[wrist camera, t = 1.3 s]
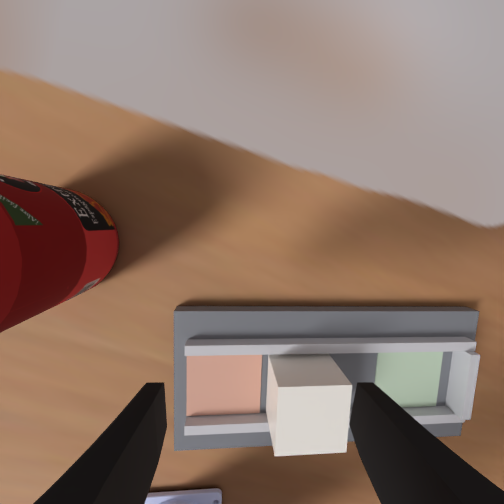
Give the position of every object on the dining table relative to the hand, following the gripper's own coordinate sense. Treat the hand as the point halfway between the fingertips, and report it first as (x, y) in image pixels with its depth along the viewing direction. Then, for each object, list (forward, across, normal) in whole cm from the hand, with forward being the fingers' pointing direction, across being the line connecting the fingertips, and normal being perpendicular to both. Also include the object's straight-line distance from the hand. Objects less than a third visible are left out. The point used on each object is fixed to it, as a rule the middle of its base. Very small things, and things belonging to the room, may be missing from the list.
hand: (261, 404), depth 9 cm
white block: (+9, -4, +8) cm, 13 cm away
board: (+11, -7, +8) cm, 15 cm away
